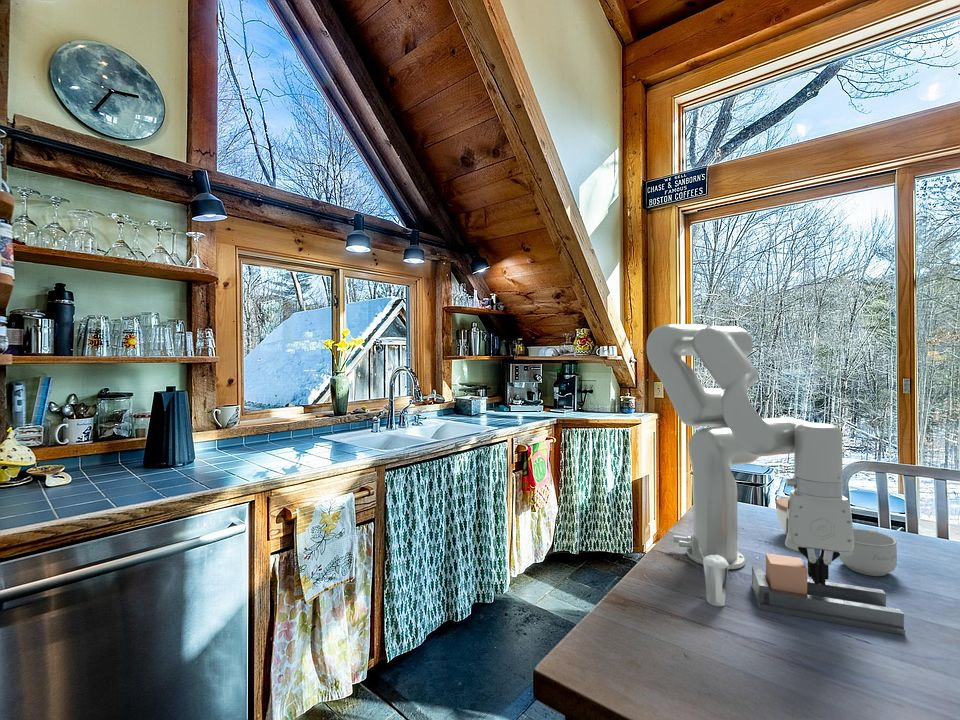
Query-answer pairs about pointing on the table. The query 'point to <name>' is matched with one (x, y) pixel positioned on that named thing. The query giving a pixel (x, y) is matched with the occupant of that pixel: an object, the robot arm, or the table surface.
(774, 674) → the table surface
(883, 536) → the teacup
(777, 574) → the block
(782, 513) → the lidded bowl
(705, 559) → the milkshake
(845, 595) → the chute
